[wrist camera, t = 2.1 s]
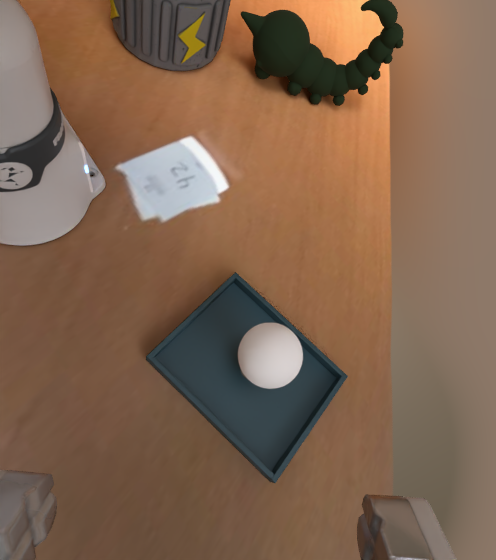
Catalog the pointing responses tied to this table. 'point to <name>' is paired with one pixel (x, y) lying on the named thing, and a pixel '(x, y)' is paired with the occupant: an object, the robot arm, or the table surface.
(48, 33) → the table surface
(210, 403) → the tray
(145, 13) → the decorative lamp
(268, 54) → the toy figurine
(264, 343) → the light bulb
